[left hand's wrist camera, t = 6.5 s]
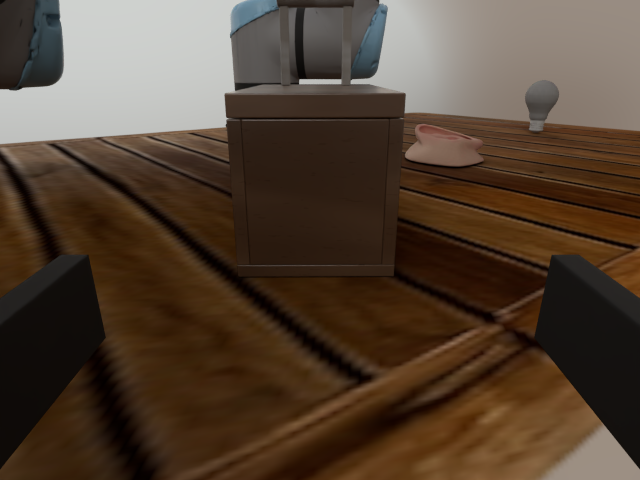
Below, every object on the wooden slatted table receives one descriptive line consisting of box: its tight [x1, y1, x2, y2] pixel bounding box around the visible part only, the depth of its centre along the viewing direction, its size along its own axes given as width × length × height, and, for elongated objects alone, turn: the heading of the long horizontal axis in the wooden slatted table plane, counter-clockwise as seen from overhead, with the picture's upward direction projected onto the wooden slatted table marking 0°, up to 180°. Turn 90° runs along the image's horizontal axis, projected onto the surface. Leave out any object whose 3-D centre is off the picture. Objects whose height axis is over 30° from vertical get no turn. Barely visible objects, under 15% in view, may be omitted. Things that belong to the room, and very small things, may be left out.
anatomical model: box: [405, 124, 484, 167], centre depth 63 cm, size 13×4×12 cm
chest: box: [226, 118, 404, 277], centre depth 33 cm, size 16×10×10 cm, turn 0°
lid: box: [225, 0, 406, 118], centre depth 30 cm, size 17×10×9 cm, turn 0°
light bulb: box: [525, 80, 559, 132], centre depth 88 cm, size 6×6×10 cm
